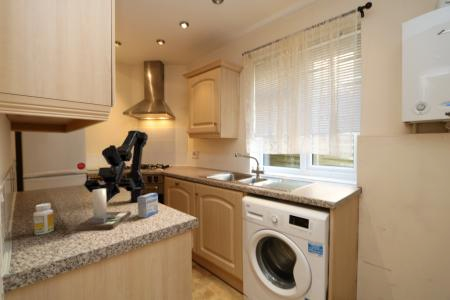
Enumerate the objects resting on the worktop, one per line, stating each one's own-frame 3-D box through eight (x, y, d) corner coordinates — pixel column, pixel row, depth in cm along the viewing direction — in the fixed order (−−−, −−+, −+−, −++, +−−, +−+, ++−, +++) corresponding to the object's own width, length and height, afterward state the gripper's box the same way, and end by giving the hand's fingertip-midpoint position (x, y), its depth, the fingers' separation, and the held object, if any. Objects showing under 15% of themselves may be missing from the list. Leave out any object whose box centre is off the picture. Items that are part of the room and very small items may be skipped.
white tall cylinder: (97, 219, 83) (96, 188, 83) (117, 218, 83) (116, 187, 83) (89, 223, 78) (88, 191, 78) (111, 223, 78) (110, 190, 78)
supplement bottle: (52, 227, 80) (50, 201, 79) (55, 231, 76) (54, 204, 76) (32, 232, 75) (31, 205, 75) (36, 236, 72) (34, 207, 72)
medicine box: (146, 218, 88) (145, 197, 87) (137, 217, 89) (137, 196, 89) (158, 212, 95) (157, 193, 95) (150, 211, 96) (149, 192, 96)
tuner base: (100, 215, 92) (100, 211, 92) (130, 214, 93) (130, 210, 93) (75, 230, 76) (75, 225, 76) (112, 229, 77) (112, 224, 77)
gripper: (85, 160, 88) (68, 193, 77) (131, 159, 88) (120, 191, 77) (97, 176, 96) (82, 208, 85) (139, 175, 96) (130, 206, 85)
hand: (103, 203), depth 83 cm, fingers closed
